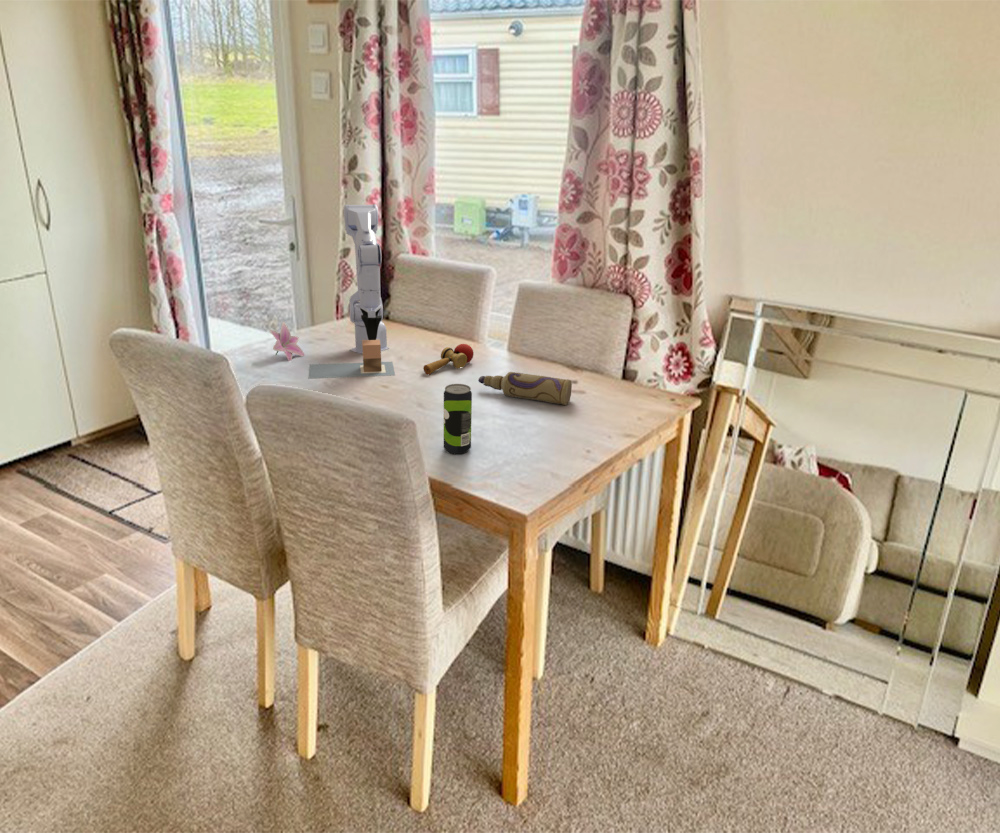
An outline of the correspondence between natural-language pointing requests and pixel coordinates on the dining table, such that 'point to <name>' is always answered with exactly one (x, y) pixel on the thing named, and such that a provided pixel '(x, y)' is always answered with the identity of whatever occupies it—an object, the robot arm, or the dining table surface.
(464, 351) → the kendama
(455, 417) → the beverage can
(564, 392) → the decorative bottle
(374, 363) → the walnut block
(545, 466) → the dining table surface
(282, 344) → the lily
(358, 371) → the board
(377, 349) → the terracotta block
